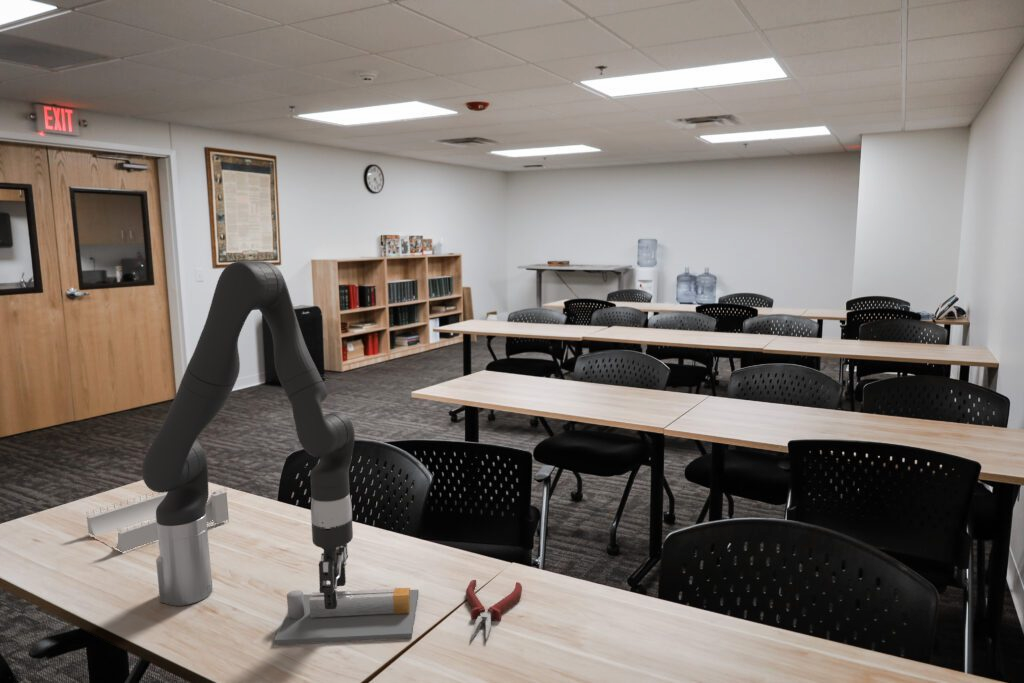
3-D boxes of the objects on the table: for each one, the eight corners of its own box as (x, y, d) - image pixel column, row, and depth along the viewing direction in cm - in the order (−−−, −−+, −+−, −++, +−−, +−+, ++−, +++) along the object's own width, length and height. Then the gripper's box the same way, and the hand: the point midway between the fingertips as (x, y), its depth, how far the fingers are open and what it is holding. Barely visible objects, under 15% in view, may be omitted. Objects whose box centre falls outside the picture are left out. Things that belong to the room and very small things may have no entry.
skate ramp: (184, 505, 192) (181, 471, 191) (229, 523, 179) (226, 487, 178) (89, 537, 172) (84, 499, 171) (131, 560, 159) (127, 519, 158)
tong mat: (274, 645, 123) (272, 617, 122) (297, 599, 139) (295, 574, 138) (411, 638, 124) (410, 610, 124) (418, 593, 140) (417, 569, 139)
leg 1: (312, 613, 131) (311, 595, 131) (314, 609, 133) (312, 591, 132) (410, 609, 132) (409, 591, 132) (410, 605, 133) (409, 587, 133)
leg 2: (310, 618, 130) (308, 600, 129) (311, 614, 131) (310, 596, 130) (409, 613, 131) (408, 595, 130) (409, 609, 132) (409, 591, 132)
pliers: (448, 643, 123) (447, 630, 123) (469, 588, 143) (469, 576, 143) (509, 647, 122) (509, 634, 121) (523, 591, 142) (523, 580, 141)
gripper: (320, 503, 135) (324, 579, 138) (302, 534, 121) (307, 617, 124) (358, 502, 136) (361, 577, 138) (344, 532, 122) (348, 615, 124)
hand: (335, 596), depth 131 cm, fingers open, 8 cm apart
